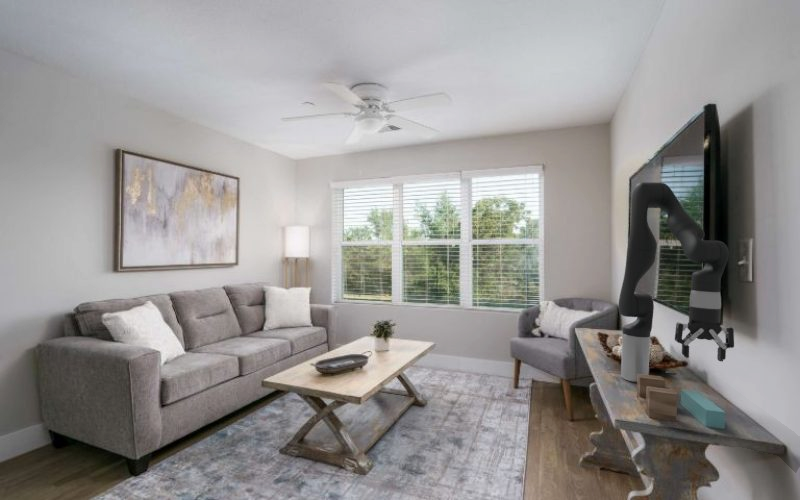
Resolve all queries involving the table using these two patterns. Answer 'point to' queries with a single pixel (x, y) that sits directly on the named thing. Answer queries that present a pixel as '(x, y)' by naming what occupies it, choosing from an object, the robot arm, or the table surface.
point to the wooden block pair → (656, 397)
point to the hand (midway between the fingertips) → (702, 359)
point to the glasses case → (703, 409)
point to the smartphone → (670, 372)
